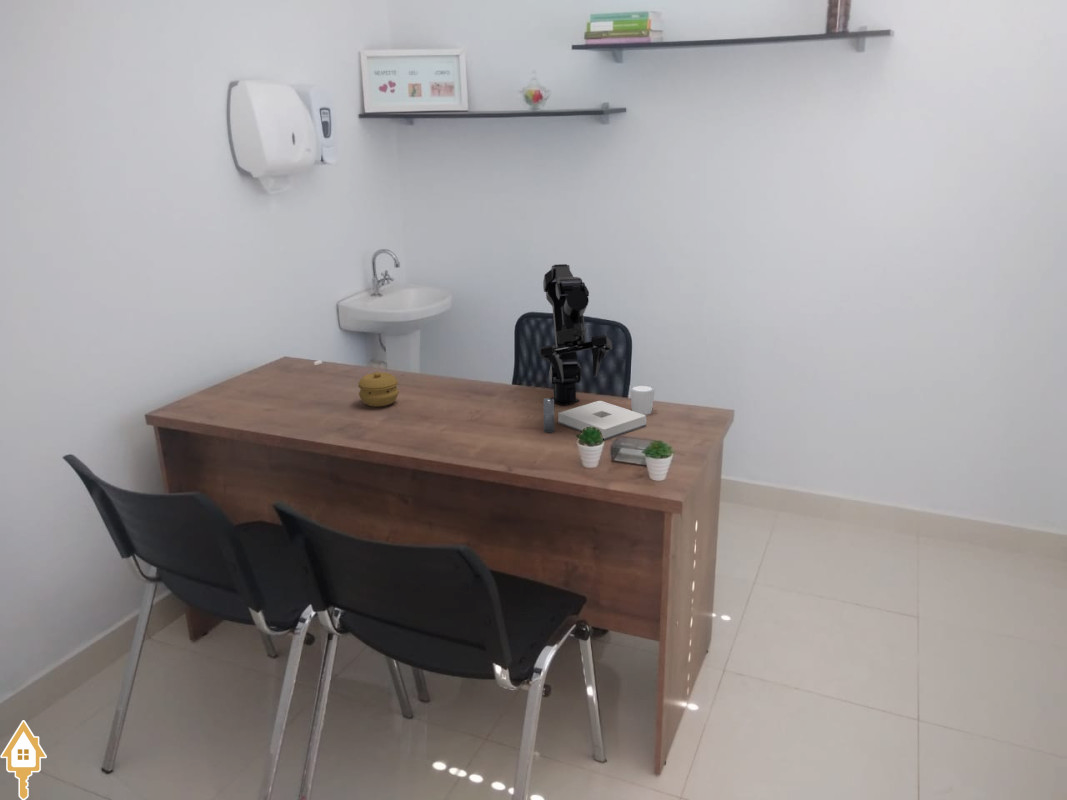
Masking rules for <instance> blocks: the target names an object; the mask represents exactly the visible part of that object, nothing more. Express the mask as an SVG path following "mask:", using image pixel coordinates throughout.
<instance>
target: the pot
mask: <svg viewBox="0 0 1067 800" xmlns="http://www.w3.org/2000/svg"><path fill="white" fill-rule="evenodd" d="M357 384H358V385H357V387H358V388H359V389H360V390H359V391H358V395H359V398H360V400H361V401H362V402H363V403H364V404H365V405H367V406H370V407H374V408H375V407H376V408H377V407H385V406H389V405H391V404H393V403H394V402H395V401H396V400H397V397H398V395H399V393H400V391H399V390H400V389H399V388H398V387H397V386H398V385H399V380H398V379H397V378H396V377H395V375H393V374H391V373H390V372H389V373H388V372H380V371H376V372H372V373H369V374H365V375H364V376H362V377H361V379H360V380H359V381H358V383H357Z"/></svg>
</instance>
